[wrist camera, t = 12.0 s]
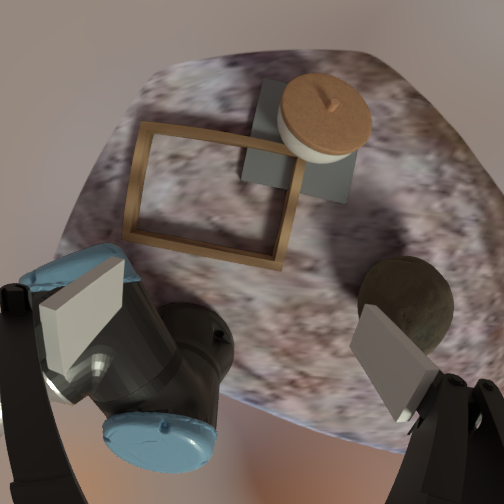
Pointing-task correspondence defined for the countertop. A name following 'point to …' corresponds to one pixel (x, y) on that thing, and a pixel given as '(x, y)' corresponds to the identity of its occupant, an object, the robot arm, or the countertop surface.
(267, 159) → the trivet
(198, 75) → the countertop surface
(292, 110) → the lidded jar
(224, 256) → the pocket frame
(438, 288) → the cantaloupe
